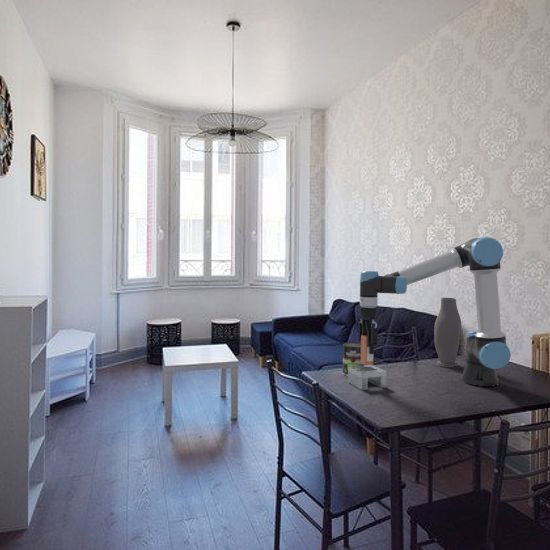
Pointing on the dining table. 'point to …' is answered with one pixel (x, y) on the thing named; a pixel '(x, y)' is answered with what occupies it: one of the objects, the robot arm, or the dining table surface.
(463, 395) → the dining table surface
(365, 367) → the square tube ring
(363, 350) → the orange rectangular block
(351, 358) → the coffee can
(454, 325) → the vase
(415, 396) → the dining table surface
